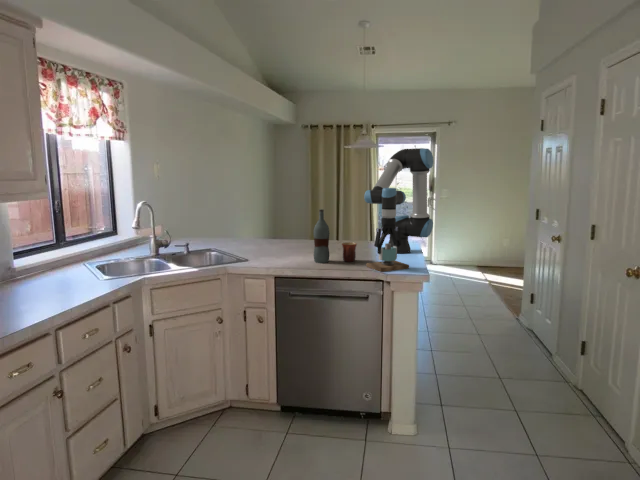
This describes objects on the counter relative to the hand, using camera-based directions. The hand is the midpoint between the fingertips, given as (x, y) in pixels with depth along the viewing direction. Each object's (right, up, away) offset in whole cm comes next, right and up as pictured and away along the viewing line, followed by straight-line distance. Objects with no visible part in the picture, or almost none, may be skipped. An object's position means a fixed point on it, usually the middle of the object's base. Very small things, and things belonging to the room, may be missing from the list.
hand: (387, 258), depth 244 cm
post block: (0, -5, +1) cm, 5 cm away
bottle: (-36, -2, +17) cm, 39 cm away
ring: (0, 0, 0) cm, 0 cm away
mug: (-20, -2, +16) cm, 26 cm away
